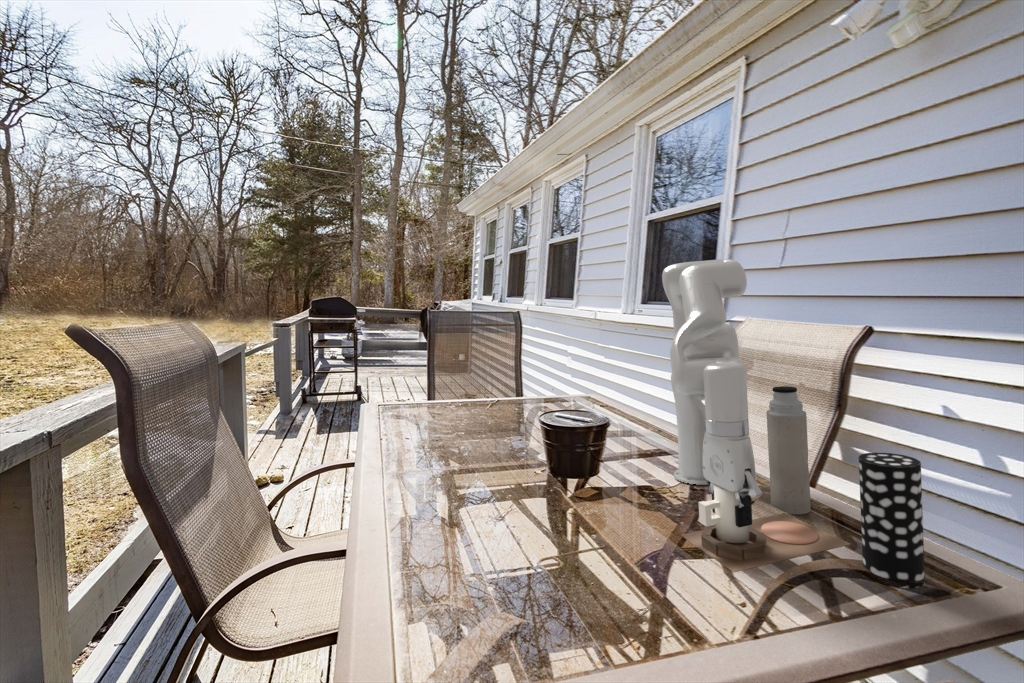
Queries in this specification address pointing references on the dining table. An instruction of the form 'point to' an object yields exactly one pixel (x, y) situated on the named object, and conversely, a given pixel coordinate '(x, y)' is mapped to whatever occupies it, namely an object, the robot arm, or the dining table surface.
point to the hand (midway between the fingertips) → (731, 517)
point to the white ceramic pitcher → (723, 516)
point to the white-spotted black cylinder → (892, 517)
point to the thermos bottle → (788, 452)
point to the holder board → (765, 542)
